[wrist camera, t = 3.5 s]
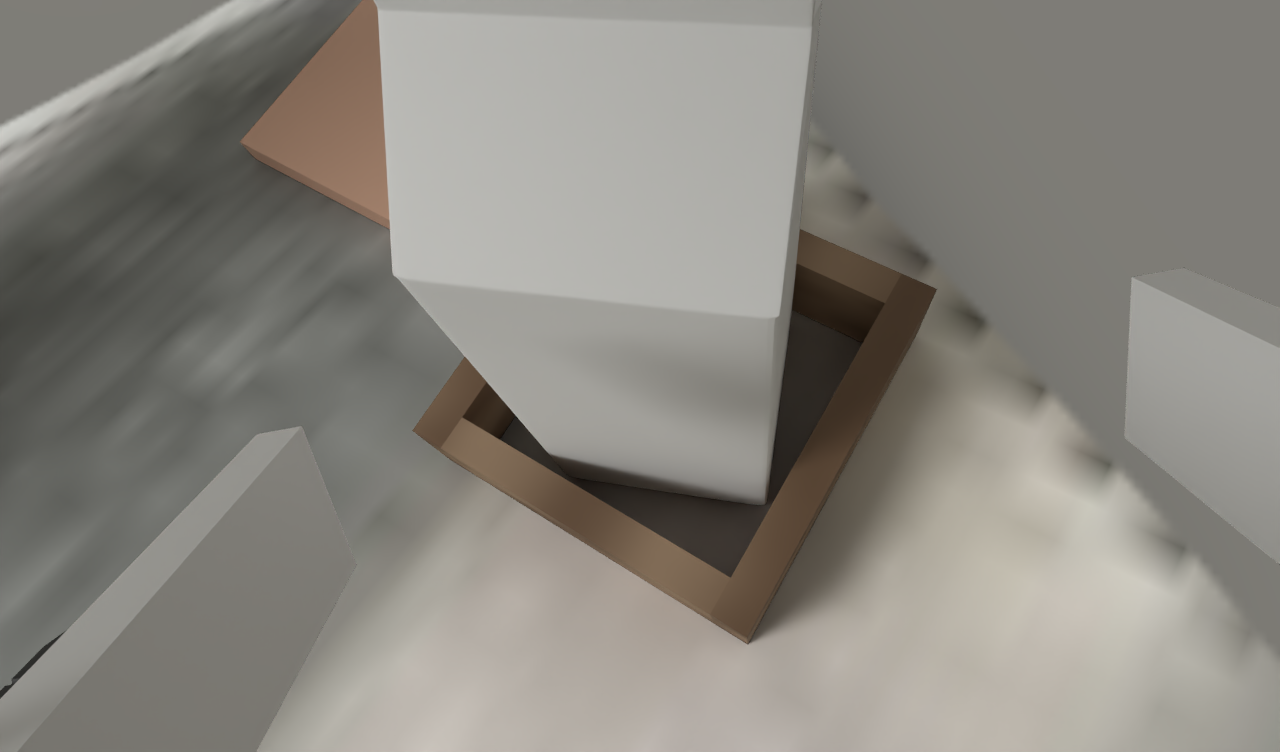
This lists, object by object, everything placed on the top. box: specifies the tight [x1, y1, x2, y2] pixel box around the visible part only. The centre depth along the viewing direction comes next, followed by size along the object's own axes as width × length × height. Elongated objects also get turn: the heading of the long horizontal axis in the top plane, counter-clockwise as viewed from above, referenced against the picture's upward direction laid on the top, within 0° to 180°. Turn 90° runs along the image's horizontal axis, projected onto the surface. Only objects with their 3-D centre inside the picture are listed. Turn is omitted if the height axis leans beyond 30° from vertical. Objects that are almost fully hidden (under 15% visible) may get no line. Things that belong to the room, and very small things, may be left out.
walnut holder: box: [412, 230, 937, 644], centre depth 28 cm, size 12×12×4 cm
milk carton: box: [374, 0, 822, 505], centre depth 20 cm, size 7×7×19 cm
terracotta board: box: [240, 0, 390, 229], centre depth 35 cm, size 13×13×1 cm
